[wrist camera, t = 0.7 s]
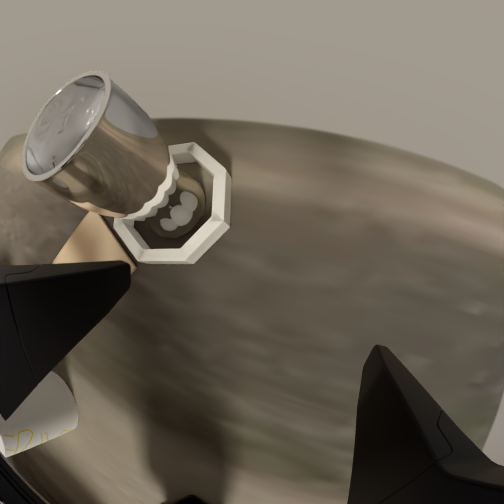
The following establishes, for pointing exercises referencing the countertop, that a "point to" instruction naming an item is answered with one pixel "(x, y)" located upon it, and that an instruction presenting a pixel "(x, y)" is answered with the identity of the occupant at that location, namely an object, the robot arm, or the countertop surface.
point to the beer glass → (110, 158)
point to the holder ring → (206, 233)
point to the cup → (39, 417)
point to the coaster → (93, 244)
